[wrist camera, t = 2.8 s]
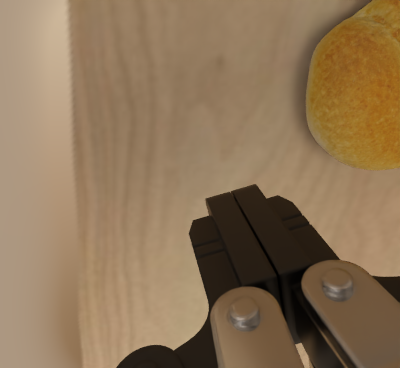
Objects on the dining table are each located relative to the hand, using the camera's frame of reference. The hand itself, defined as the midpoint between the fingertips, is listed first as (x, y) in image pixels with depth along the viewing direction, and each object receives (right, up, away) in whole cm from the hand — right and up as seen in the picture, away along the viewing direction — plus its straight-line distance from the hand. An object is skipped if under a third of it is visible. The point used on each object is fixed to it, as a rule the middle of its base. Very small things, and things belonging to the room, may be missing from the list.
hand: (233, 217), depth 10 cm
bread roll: (+8, +7, +7) cm, 13 cm away
